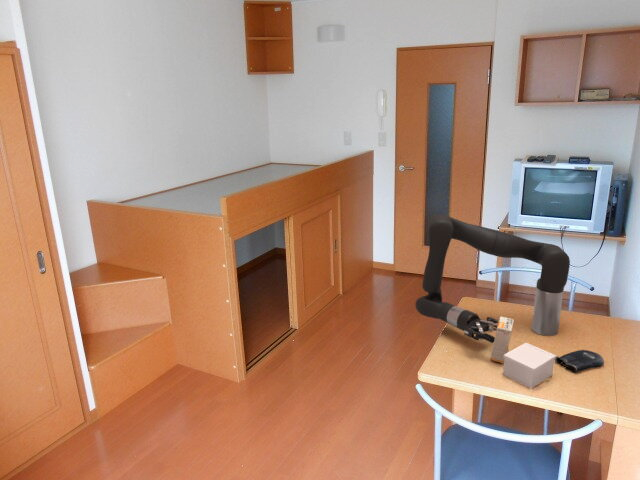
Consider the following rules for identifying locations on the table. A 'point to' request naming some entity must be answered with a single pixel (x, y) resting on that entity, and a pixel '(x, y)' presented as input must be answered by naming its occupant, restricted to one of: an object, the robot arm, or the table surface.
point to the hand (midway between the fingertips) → (501, 336)
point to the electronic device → (581, 360)
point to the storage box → (528, 365)
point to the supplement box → (502, 339)
